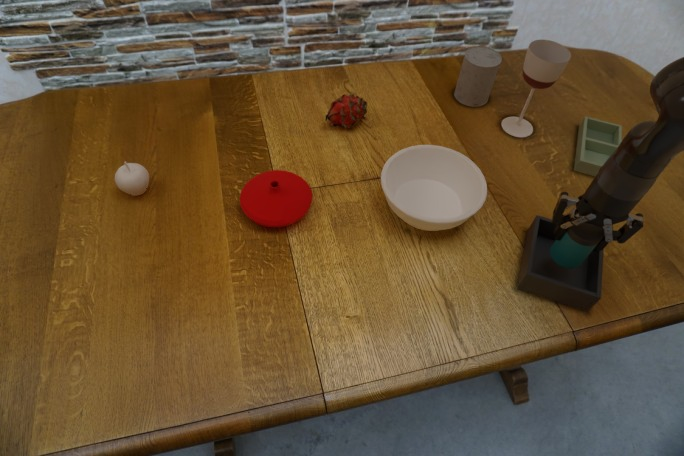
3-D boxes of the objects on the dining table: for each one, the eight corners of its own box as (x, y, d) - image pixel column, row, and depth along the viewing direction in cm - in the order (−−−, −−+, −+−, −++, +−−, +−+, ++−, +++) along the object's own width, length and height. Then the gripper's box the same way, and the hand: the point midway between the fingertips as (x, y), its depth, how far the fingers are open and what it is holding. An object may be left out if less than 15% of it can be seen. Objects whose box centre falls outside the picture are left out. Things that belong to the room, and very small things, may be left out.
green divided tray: (615, 135, 121) (622, 125, 118) (613, 181, 110) (621, 171, 108) (578, 126, 122) (584, 115, 120) (573, 170, 112) (580, 160, 109)
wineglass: (514, 111, 125) (545, 35, 108) (542, 130, 121) (579, 54, 103) (492, 122, 122) (520, 46, 104) (520, 143, 117) (554, 67, 100)
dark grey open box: (591, 250, 98) (604, 235, 93) (587, 312, 89) (601, 298, 84) (527, 230, 100) (536, 214, 96) (516, 288, 92) (526, 274, 87)
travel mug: (583, 248, 92) (605, 220, 85) (581, 272, 88) (604, 246, 81) (551, 238, 93) (570, 210, 86) (548, 262, 89) (568, 235, 82)
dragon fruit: (369, 122, 123) (329, 139, 121) (357, 93, 122) (316, 109, 120) (377, 114, 114) (334, 132, 112) (364, 82, 114) (320, 100, 112)
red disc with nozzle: (291, 244, 96) (289, 223, 91) (227, 218, 100) (221, 196, 94) (324, 193, 105) (324, 171, 99) (264, 171, 109) (261, 148, 103)
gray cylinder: (481, 111, 125) (495, 71, 115) (449, 99, 127) (459, 59, 118) (492, 92, 130) (506, 53, 120) (460, 81, 133) (471, 42, 123)
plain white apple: (151, 174, 107) (140, 149, 100) (156, 196, 103) (145, 171, 96) (119, 182, 105) (106, 157, 99) (123, 204, 101) (109, 179, 95)
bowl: (445, 265, 94) (455, 241, 88) (357, 212, 102) (359, 186, 95) (494, 200, 105) (505, 174, 99) (411, 156, 113) (416, 130, 107)
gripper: (574, 184, 73) (535, 245, 86) (671, 212, 70) (615, 270, 83) (577, 154, 77) (539, 216, 91) (668, 179, 74) (616, 239, 88)
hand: (576, 242), depth 87 cm, fingers closed on travel mug, 6 cm apart
